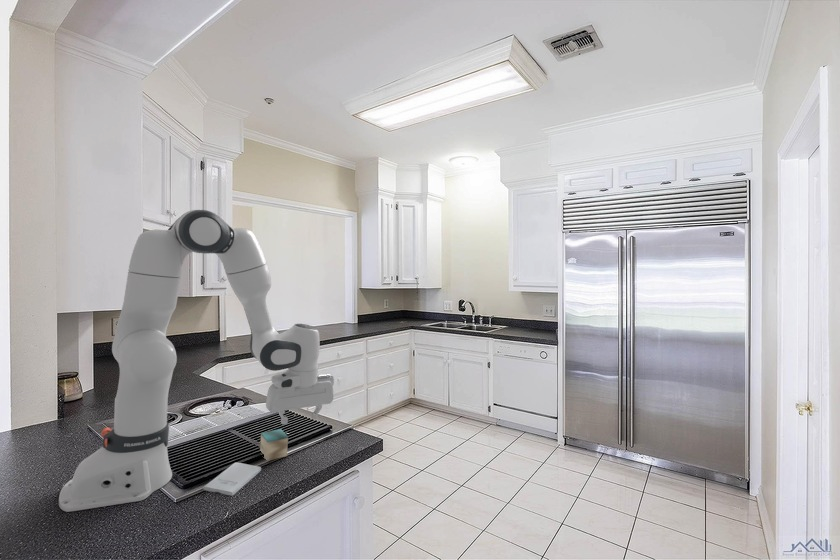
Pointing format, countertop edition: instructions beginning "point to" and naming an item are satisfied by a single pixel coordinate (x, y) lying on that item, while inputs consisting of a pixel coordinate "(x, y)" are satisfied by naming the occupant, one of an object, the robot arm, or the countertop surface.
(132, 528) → the countertop surface
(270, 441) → the maple cube
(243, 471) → the external hard drive
